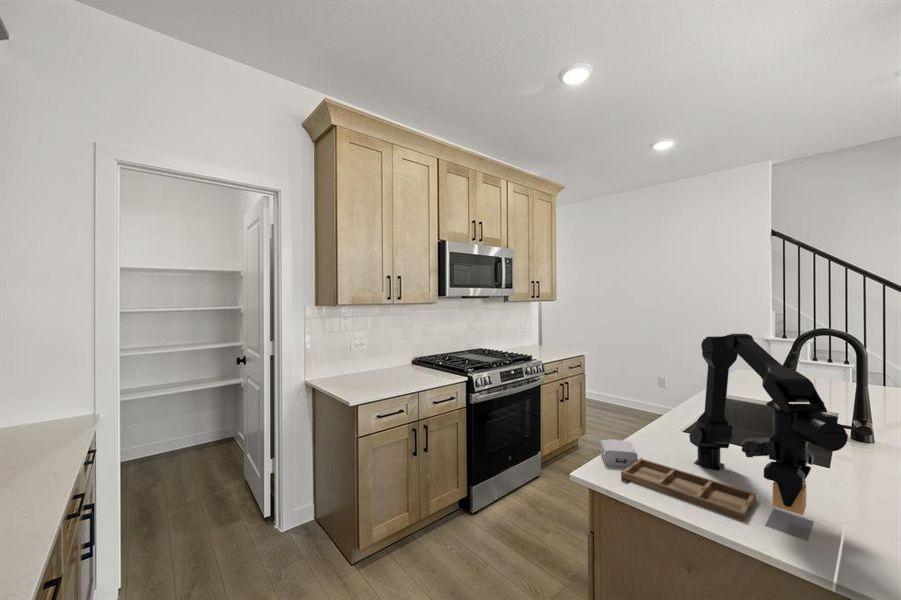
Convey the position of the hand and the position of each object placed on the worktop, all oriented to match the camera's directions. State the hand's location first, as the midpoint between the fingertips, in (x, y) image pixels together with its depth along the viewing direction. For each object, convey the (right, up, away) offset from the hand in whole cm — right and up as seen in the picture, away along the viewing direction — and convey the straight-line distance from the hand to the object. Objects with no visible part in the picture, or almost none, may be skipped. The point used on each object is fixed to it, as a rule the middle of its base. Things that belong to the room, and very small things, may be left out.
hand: (789, 501), depth 86 cm
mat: (0, -6, 0) cm, 6 cm away
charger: (-22, -5, +38) cm, 44 cm away
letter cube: (0, -1, 0) cm, 1 cm away
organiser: (-14, -5, +16) cm, 22 cm away
